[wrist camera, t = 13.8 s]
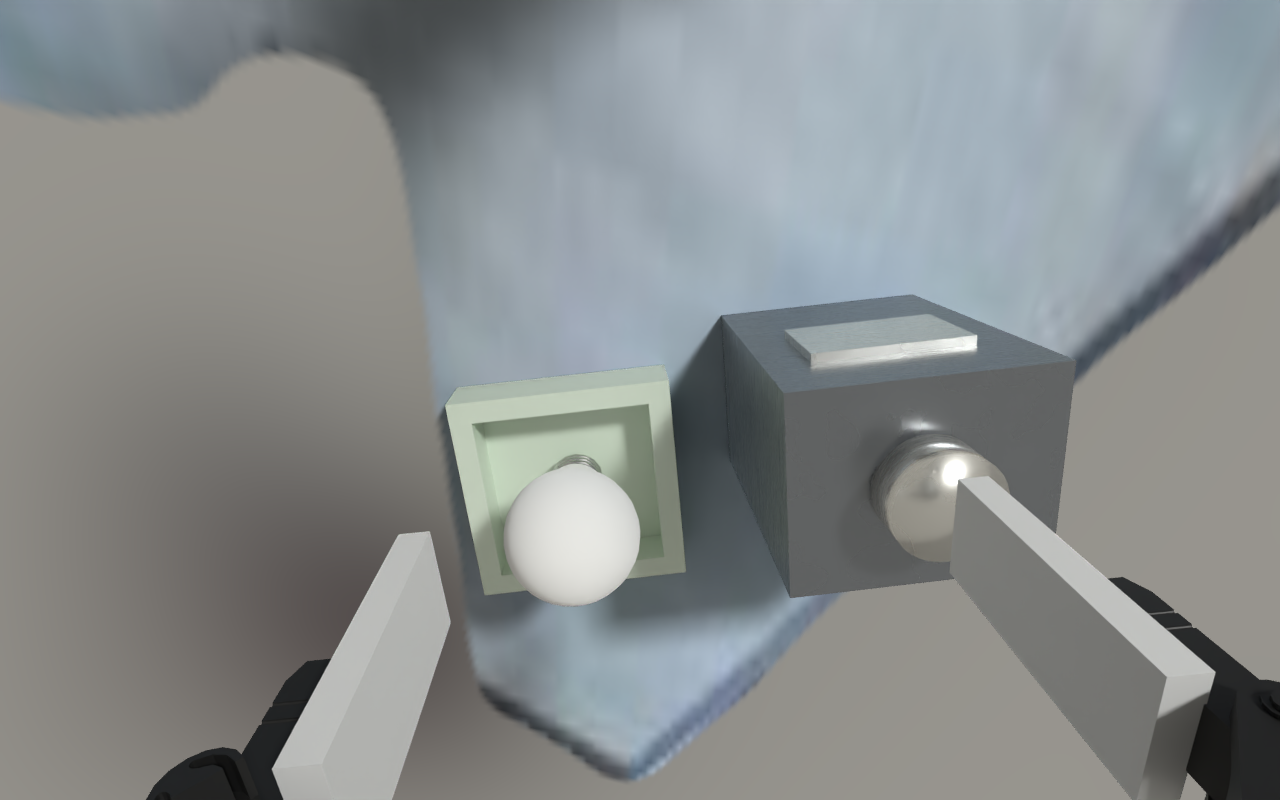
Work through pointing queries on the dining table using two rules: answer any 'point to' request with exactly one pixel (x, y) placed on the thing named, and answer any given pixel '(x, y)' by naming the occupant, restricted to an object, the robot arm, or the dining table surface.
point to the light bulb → (572, 534)
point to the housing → (885, 433)
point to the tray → (561, 426)
